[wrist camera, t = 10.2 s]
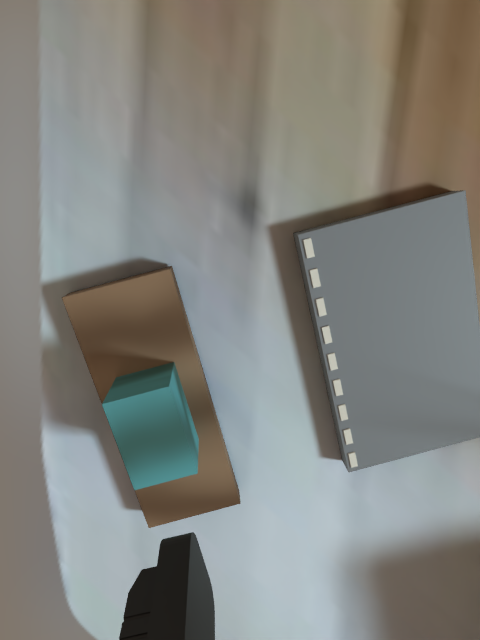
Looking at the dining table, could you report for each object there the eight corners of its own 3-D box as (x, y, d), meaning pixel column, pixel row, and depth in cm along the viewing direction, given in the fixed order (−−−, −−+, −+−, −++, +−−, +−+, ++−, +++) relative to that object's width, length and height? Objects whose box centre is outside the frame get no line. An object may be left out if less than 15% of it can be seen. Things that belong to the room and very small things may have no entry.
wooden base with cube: (69, 293, 28) (37, 313, 23) (171, 265, 28) (163, 279, 23) (151, 513, 33) (141, 572, 28) (238, 490, 33) (245, 544, 28)
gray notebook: (293, 233, 29) (298, 234, 27) (452, 191, 29) (466, 190, 27) (342, 460, 33) (349, 473, 32) (478, 424, 34) (491, 434, 32)
